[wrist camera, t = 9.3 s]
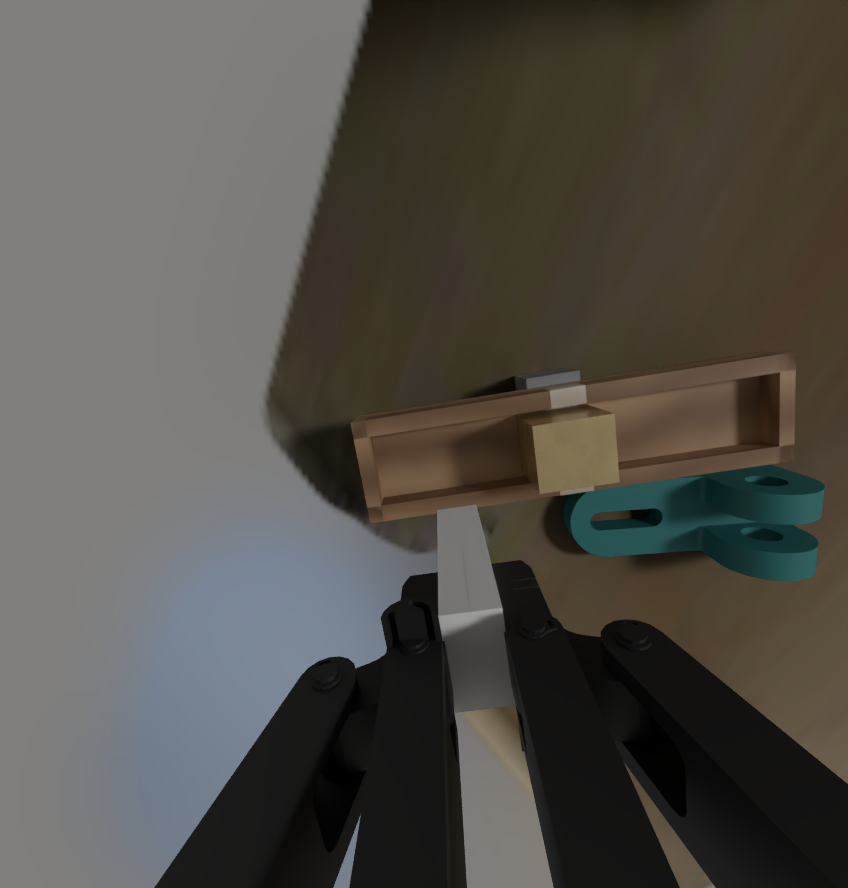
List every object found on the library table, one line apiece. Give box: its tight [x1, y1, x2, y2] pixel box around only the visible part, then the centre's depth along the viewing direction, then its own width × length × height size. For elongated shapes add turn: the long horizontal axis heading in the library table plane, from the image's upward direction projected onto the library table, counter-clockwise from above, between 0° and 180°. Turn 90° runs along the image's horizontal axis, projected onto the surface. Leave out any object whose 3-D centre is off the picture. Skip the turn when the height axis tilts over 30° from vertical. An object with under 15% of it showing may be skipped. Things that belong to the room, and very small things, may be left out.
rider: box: [516, 404, 619, 494], centre depth 29 cm, size 4×5×5 cm
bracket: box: [564, 464, 825, 581], centre depth 35 cm, size 18×7×8 cm, turn 95°
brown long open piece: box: [350, 352, 796, 523], centre depth 33 cm, size 9×30×8 cm, turn 99°
